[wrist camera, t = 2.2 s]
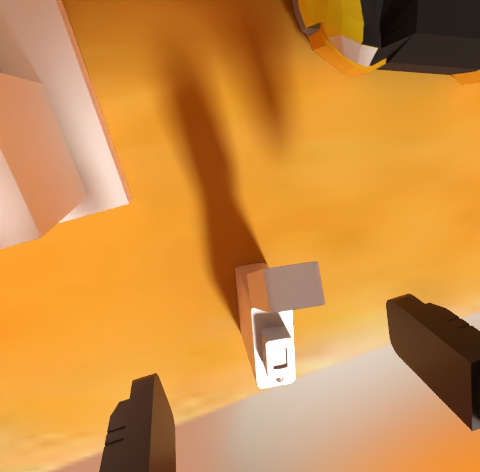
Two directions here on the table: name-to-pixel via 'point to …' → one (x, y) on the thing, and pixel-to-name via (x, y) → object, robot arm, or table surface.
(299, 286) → the lighter
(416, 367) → the robot arm
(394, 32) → the gaming controller
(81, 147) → the rail plate
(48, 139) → the block
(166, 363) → the table surface
